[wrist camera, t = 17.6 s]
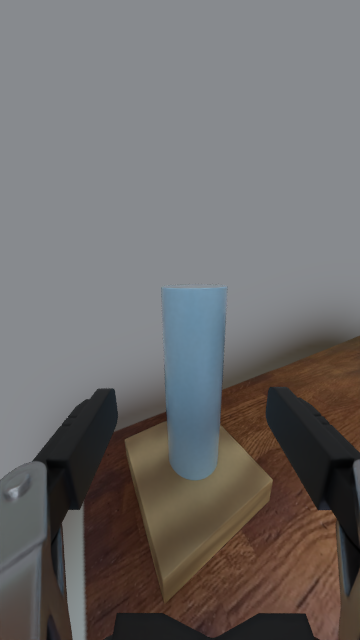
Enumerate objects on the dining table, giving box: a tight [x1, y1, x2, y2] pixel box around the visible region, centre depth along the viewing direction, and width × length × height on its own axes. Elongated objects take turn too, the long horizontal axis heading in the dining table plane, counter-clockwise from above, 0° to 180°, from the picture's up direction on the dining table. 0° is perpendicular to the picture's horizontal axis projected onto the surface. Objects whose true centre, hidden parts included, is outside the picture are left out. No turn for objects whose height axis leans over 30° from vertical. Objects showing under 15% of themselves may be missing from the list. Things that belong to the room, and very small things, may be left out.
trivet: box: [125, 421, 273, 604], centre depth 20 cm, size 12×12×3 cm
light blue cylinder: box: [161, 284, 228, 480], centre depth 18 cm, size 6×6×19 cm
